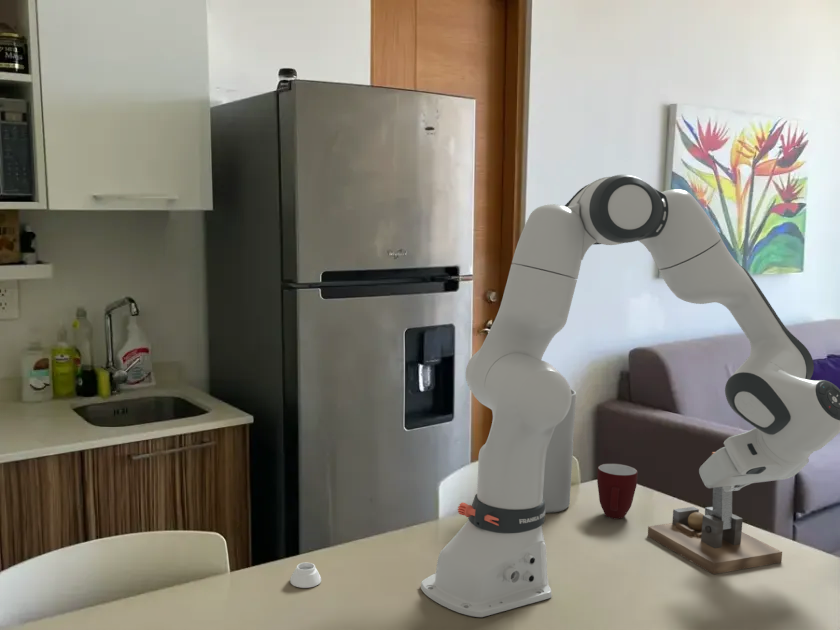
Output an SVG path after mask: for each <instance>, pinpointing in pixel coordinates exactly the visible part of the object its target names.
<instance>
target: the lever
mask: <svg viewBox="0 0 840 630" xmlns="http://www.w3.org/2000/svg"><path fill="white" fill-rule="evenodd" d="M715 452H716V451H712V452H711V456H712V455H713V454H714V453H715ZM732 514H733V491H730V492H725V491H724V489H723V487H716V488H712V506H707V507H705V508H704V515H712V516H714V517H716V518H718V519H720V520H722V521H724V522H723V530H724V529H731V528H732Z"/></svg>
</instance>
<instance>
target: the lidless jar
mask: <svg viewBox="0 0 840 630" xmlns="http://www.w3.org/2000/svg"><path fill="white" fill-rule="evenodd" d="M289 582H290V584H291V585H292V586H294V587H297V588H301V589H309V588H313V587H317V585H319V584H321V582H322V577H321V575H320V573H319V571H318V569H317V568H316V564H314V563H312V562H305V561H304V562H299V564H297V565H296V568H295V569H294V570H293V572H292V574H291V575H290V580H289Z"/></svg>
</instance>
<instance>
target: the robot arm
mask: <svg viewBox="0 0 840 630" xmlns="http://www.w3.org/2000/svg"><path fill="white" fill-rule="evenodd" d="M637 241H638V242H639V243H641V244H642V245H643V246H644V247H645V249H647V251H648V252H649V253H650V255H651V257H652V259H653V262H654V263H655V265H656V267H657V269H658V271H659V273H660V275H661V277H662V279H663V280H664V283H665V284H666V286H667V287H668V289H669V290H670V291H671V292H672V293H673V295H675V296H676V298H678V299H680V300H682V301H684V302H688V303H691V304H694V305H695V304H696V305H697V304H698V305H706V304H712V303H718V304H721V305H722V306H724V307H725V308H726V309H727V310H728V311H729V312H730V314H731V315H732V317H733V318H734V320H735V321H736V323H737V324H738V326H739V327H740V328H741V330H742V332H743V333H744V335H745V336H746V338H747V339H748V341H749V344H750V353H749V356H748V357H747V358H746V360H745V361H744V362H743V363H742V364H741V365H739V367H738V368H737V369H736V370H735V371H734V373H732V375H731V376H730V377H729V378H728V380H727V381H726V382H725V383H726V384H725V387H724V392H725V398H726V401H727V403H728V405H729V407H730V408H731V409H732V410H733V412H735V413H736V414H737V415H738V416H739V417H740V418H741V419H742V420H744V421H746V422H747V423H749V424H750V425H751V426H753V427H754V428H752V429H750V430H748V431H746V432H742V433H739V434H735V435H732V436H728V437H727V438H726V439H725V440H724V442H723V445H724V446H723V447H720V448H719V449H717V450H716V451H714V452H715V453H714V454H713V455H712V454H711V455H710V456H709V457H708V458H707V459H706V461H704V462H703V464H702V465H700V467H699V469H698V473H699V476H700V478H701V480H702V483H703V484H704V486H705V487H706V488H707V489H713V488H716V487H723V489H724V491H725V492H730V491H732V492H736V491H740V490H741V489H742V488H744V487H746V486H749V485H751V484H756V483H765V482H766V483H767V482H771V481H772V482H773V481H782V480H788V479H790V478H792V477H794V476H796V475H797V474H798V473H800V471H802V469H804V467H805V466H807V464H808V463H809V461H810V459H809V457H810V456H811V455H812V454H813V453H814V452H817V451H819V450H821V449H822V448H824V447H825V446H826V445H828V444H829V443H830V442H831V441H832V440H833V439H834V438H836V436H837V435H838V434H840V388H839V387H838V386H837V385H835V384H834V383H832V382H830V381H828V380H825V379H823V380H822V379H819V380H816V379H815V380H814V379H811V378H812V376H813V374H814V369H815V366H814V359H813V357H812V355H811V353H810V351H809V349H808V348H807V347H806V346H805V344H803V342H801V341H800V340H799V339H798V338H797V337H796V336H795V335H794V334H793V333H792V332H790V330H788V328H787V327H786V326H785V324H784V323H783V321H782V320H781V318H780V317H779V316H778V314H777V313H776V311H775V309H774V307H772V305H771V303H770V302H769V300H768V299H767V297H766V296H765V295H764V292H763V291H762V289H761V288H760V287H759V285H758V284H757V282H756V281H755V280H754V278H753V277H752V275H751V274H750V273H749V272H748V271H747V269H745V268H744V266H742V265H741V264H739V263H738V262H737V261H736V259H735V258H734V256H733V255H732V254H731V253H730V251H729V250H728V248H727V246H726V244H725V243H724V240H723V239H722V237H721V235H720V233H719V231H718V230H717V228H716V226H715V225H714V223H713V221H712V220H711V218H710V217H709V215H708V214H707V212H706V211H705V210H704V208H703V207H702V205H701V204H700V203H699V201H697V200H696V198H695V197H694V196H693V195H692V194H691V193H690V192H689V191H687V190H685V189H680V188H677V189H669V190H668V189H667V190H664V191H660V190H658V189H656V188H655V187H653V186H652V185H650V184H649V183H648V182H647V181H645V180H643V179H641V178H640V177H638V176H635V175H630V174H617V175H612V176H606V177H601V178H598V179H596V180H593V181H592V182H591V183H589V184H587V185H585V186H582V188H580V189H579V190H578V191H577V192H576V193H575V194H574V195H573V196H572V198H570V200H568V201H567V203H566V204H565V205H561V204H556V203H555V204H553V203H552V204H544V205H540V206H539V207H536V208H535V209H534V210H532V211H531V213H530V215H529V216H528V218H527V220H526V222H525V224H524V227H523V229H522V231H521V234H520V235H519V239H518V241H517V245H516V247H515V251H514V254H513V257H512V260H511V264H510V268H509V272H508V276H507V281H506V284H505V287H504V291H503V296H502V299H501V301H500V306H499V309H498V312H497V314H496V316H495V318H494V320H493V323H492V325H491V327H490V329H489V331H488V333H487V335H486V337H485V339H484V340H483V343H482V345H481V346H480V348H479V349H478V350H477V352H475V353H474V354H473V355H472V356H471V358H470V359H469V360H468V363H467V365H466V367H465V381H466V383H467V386H468V389H469V390H470V392H471V393H472V395H473V396H474V398H475V399H476V400H477V401H478V402H479V403H480V404H481V405H483V406H484V407H486V408H488V409H490V410H491V412H492V420H491V422H492V423H491V426H490V429H489V434H488V437H487V439H486V441H485V444H483V445H482V446H481V447H480V449H479V453H478V460H477V461H478V463H477V483H476V485H477V486H476V487H477V488H476V494H475V495H474V497H473V500H472V502H471V503H472V505H471V504H468V503H466V502H460V503H459V505H458V506H457V513H458V514H459V515H460V516H465V517H466V518H467V519H468V520H467V521H466V522H465V524H463V526H462V527H461V528H460V529H459V530H458V531H457V533H456V534H454V536H453V537H452V538H451V540H449V542H448V543H447V544H446V545H445V546H444V547H443V548H442V549H441V550H440V552H439V555H438V558H437V563H436V569H435V573H433V574H431V575H429V576H428V577H427V576H426V578H424V579H423V580H422V581H421V582H420V583H421V584H420V588H421V591H422V592H423V593H424V594H425V596H427V597H428V598H430V599H431V600H432V601H434V602H436V603H437V604H439V605H440V606H443V607H445V608H447V609H449V610H451V611H453V612H456V613H459V614H462V615H465V616H469V617H476V618H483V617H487V616H490V615H491V616H492V615H495V614H498V613H503V612H505V611H509V610H513V609H516V608H520V607H524V606H527V605H530V604H531V605H532V604H534V603H538V602H541V601H544V600H548V599H550V598H552V588H551V587H550V585H549V578H548V560H547V544H546V541H545V537H544V532H543V525H544V523H545V517H546V513H545V510H546V509H545V501H544V499H543V486H544V471H545V460H546V454H547V450H548V446H549V443H550V440H551V437H552V434H553V431H554V429H555V427H556V425H558V424H559V423H560V422H561V421H562V420H563V419H564V418H565V416H566V415H567V413H568V411H569V409H570V406H571V400H572V394H571V389H572V388H571V385H570V384H569V382H568V380H567V379H566V377H564V376H563V375H562V373H561V372H560V371H559V370H557V369H556V367H554V366H553V365H552V364H551V363H549V362H547V361H544V360H542V359H543V356H544V354H545V352H546V351H547V348H548V347H549V345H550V343H551V341H552V340H553V338H554V337H555V336H556V335H557V334H558V333H559V332H561V330H563V329H564V327H565V326H566V323H567V321H568V317H569V314H570V309H571V305H572V301H573V298H574V293H575V289H576V286H577V283H578V279H579V275H580V270H581V265H582V261H583V260H584V257H585V255H586V253H587V251H588V250H589V249H590V248H591V246H593V245H603V246H604V245H605V246H616V245H622V244H629V243H634V242H637Z"/></svg>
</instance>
